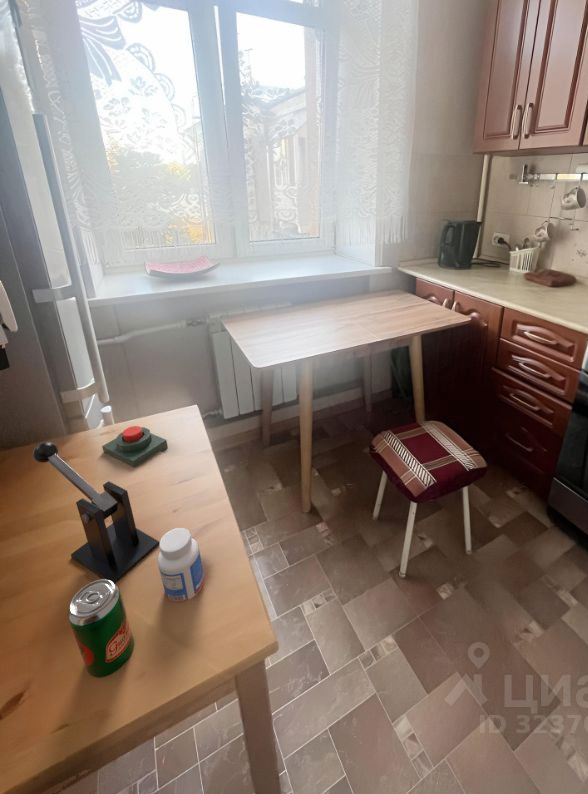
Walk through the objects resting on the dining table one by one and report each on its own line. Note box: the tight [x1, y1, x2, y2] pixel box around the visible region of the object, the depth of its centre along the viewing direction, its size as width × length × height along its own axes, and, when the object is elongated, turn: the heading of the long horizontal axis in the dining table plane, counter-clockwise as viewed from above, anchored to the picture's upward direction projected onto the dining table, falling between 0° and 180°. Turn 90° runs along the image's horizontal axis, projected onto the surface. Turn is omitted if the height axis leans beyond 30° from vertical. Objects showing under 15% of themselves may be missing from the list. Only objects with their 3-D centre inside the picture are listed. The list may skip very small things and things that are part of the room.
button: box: [122, 425, 143, 442], centre depth 84 cm, size 4×4×2 cm
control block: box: [101, 426, 169, 468], centre depth 85 cm, size 10×8×4 cm
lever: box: [32, 441, 118, 521], centre depth 61 cm, size 17×3×3 cm, turn 64°
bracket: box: [70, 480, 160, 584], centre depth 61 cm, size 10×8×12 cm
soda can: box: [67, 578, 135, 679], centre depth 47 cm, size 5×5×12 cm
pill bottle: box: [157, 527, 205, 603], centre depth 56 cm, size 6×5×10 cm
